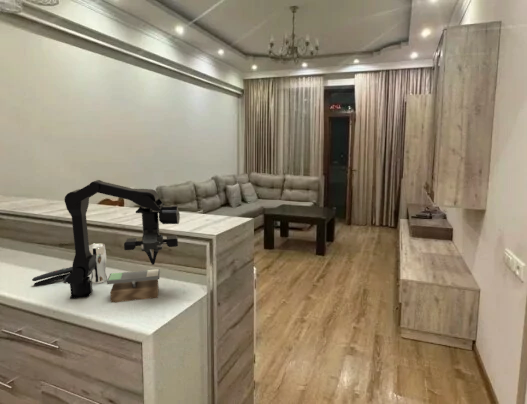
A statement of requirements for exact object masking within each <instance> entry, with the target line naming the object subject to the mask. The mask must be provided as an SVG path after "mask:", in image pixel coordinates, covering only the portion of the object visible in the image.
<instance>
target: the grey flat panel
mask: <svg viewBox="0 0 527 404" xmlns="http://www.w3.org/2000/svg"><path fill="white" fill-rule="evenodd" d="M160 275H161V269H160V268H158V269H148V270H147V269H146V270H136V271H123V272H114V273H113V272H112V273H109V275H108V277H107V280H106V285H113V284H116V283H126V282H132V283H133V284H135V282H137V281H147V280H158V281H159V280H160Z"/></svg>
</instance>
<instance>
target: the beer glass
mask: <svg viewBox="0 0 527 404" xmlns="http://www.w3.org/2000/svg"><path fill="white" fill-rule="evenodd" d="M89 251H90V253H91V254H92V255H94V254H96V262H97V264H96V265H95V269H94V270H93V271H92V272H91V274H90V276H91V277H90V280H91V281H92V284H95V285H96V284H102V283H105V282H107V280H108V277H107V273H106V266H107V251H106V245H105V243H92V244H89Z"/></svg>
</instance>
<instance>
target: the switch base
mask: <svg viewBox="0 0 527 404" xmlns="http://www.w3.org/2000/svg"><path fill="white" fill-rule="evenodd" d="M158 297H159V279H158V280H147V281H137V282H135V284H133V283H132V282H126V283H116V284H112V287H111V290H110V303H118V302H121V303H122V302H128V301H136V300H138V301H139V300H148V299H157V298H158Z"/></svg>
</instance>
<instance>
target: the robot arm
mask: <svg viewBox="0 0 527 404" xmlns="http://www.w3.org/2000/svg"><path fill="white" fill-rule="evenodd" d="M96 194H101V195H105V196H111V197H113V198H119V199H124V200H128V201H131V202H132V203H134V204H136V205H137V206H139V207H138V208H137V210H136V211H135V214H141V222H142V236H141V240H138V238H137V237H131V238H126V239H125V241H124V243H123V247H124V251H132V250H133V251H134V250H135V249H136V247H140V248H141V251H142V252H145V254H146V255H147V257H148V259H149V261H150V263H151V265H152V266H154V265H155V263H156V260H157V255H158V253H159V251H161V250H163V245H166V246H167V247H169V248H175V247H177V248H178V246H179V239H178V236H177V235H175V234H174V235H166V238H164V237H163V236H164V235H163V234H160V223H161V224H162V225H179V223H180V220H181V219H180V218H181V217H180V216H181V214H180V209H179V206H178V204H177V205H176V204H175V205H165V203H164V202H163V201H162V200H161V199H160V197H159V193H158V192H157V191H156V190H155V189H151V188H133V187H128V186H123V185H119V184H114V183H110V182H106V181H103V180H100V179H95V180H94V181H92V182H90V183H88V184H87V185H85V186H83V187H82V188H78V189H76V190H73V191H70V192H68V193H67V194H66V195H65V196H64V199H63V200H64V204H65V208H66V210H67V211H68V213H69V215H70V217H71V223H72V233H73V244H74V258H73V261H72V266H71V267H72V273H71V274H70V275H69V276H68V277H67V278H66V281H67V284H68V285H69V288H70V296H69V299H83V298H89V297H90V295H91V294H92V293H93V290H94V289H93V283H92V281H91V277H90V276H91V272H92V271H93V270H94V269H95V265H96V264H97V262H96V254H94V255H92V254H91V253H90V251H89V245H90V243H89V233H88V232H89V231H88V222H87V212H88V209H89V204H90V198H91V197H93V196H94V195H96ZM152 250H153V251H152Z"/></svg>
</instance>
